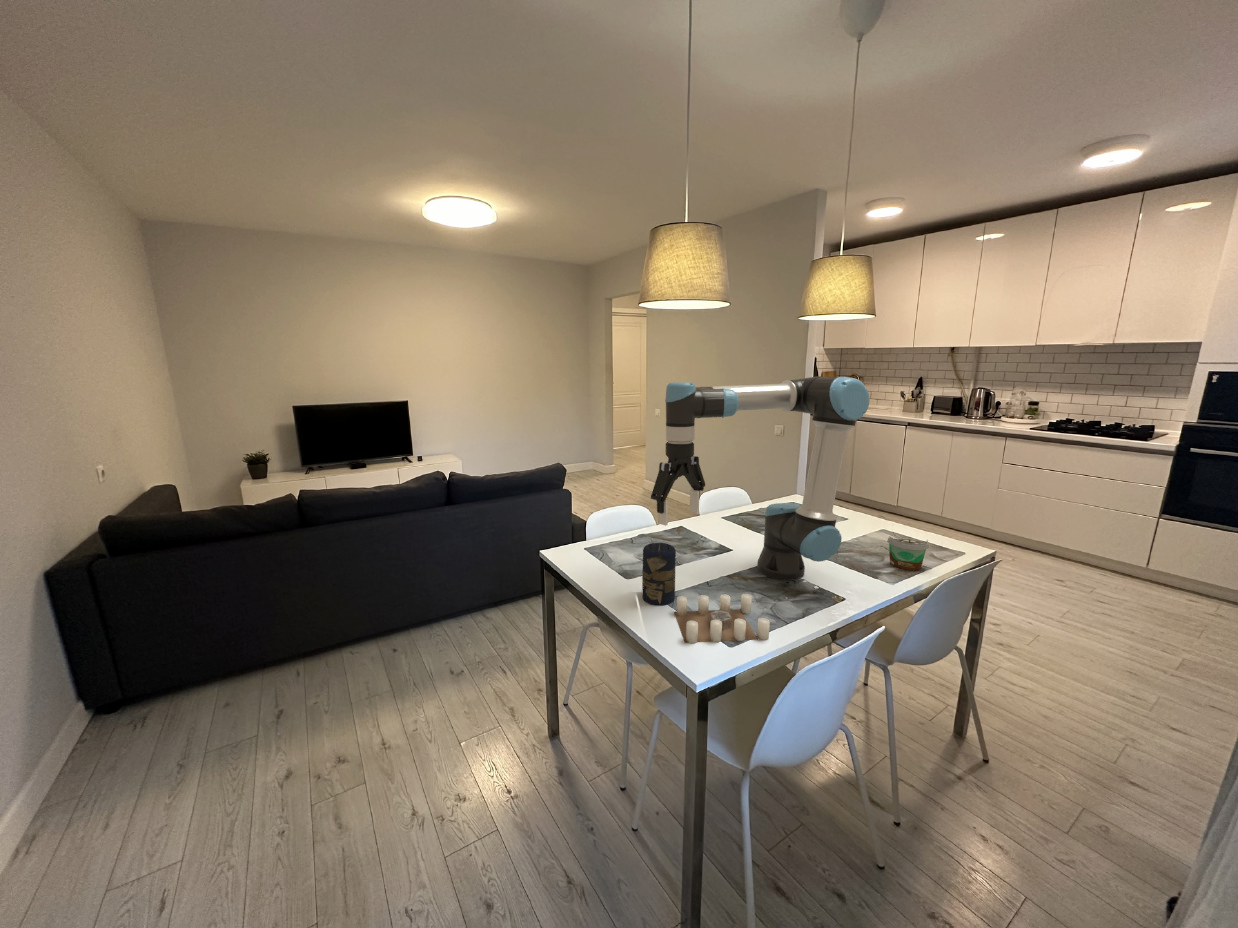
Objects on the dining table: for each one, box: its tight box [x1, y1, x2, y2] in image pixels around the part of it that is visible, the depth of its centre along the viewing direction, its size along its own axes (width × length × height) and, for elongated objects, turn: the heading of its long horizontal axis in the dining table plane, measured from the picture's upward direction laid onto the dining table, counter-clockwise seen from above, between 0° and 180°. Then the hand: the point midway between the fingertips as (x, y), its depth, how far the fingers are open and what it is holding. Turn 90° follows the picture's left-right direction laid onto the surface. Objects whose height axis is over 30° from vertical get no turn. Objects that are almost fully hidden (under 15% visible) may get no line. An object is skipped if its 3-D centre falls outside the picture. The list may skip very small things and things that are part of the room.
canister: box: [641, 542, 677, 607], centre depth 138 cm, size 10×10×18 cm
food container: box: [887, 535, 930, 572], centre depth 160 cm, size 12×6×10 cm, turn 70°
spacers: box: [676, 593, 771, 644], centre depth 125 cm, size 21×16×5 cm
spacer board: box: [673, 608, 759, 644], centre depth 126 cm, size 26×15×1 cm, turn 94°
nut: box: [710, 609, 731, 630], centre depth 125 cm, size 5×6×3 cm
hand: (679, 518), depth 130 cm, fingers open, 13 cm apart
